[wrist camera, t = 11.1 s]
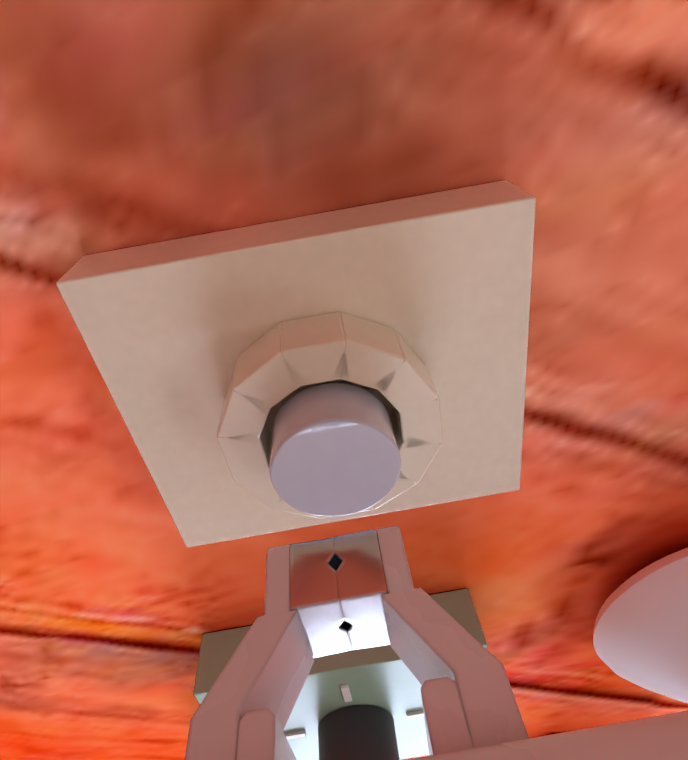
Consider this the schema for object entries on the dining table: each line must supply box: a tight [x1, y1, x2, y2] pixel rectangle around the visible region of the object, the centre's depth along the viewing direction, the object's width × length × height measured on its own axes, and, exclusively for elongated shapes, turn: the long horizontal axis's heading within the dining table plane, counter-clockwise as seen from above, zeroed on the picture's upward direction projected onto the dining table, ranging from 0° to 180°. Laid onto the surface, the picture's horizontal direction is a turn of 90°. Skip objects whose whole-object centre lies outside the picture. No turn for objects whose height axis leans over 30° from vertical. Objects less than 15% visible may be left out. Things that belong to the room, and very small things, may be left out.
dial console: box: [193, 589, 487, 760], centre depth 28 cm, size 14×11×3 cm
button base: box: [56, 180, 536, 547], centre depth 17 cm, size 13×11×4 cm
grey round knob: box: [270, 383, 401, 517], centre depth 15 cm, size 4×4×2 cm
